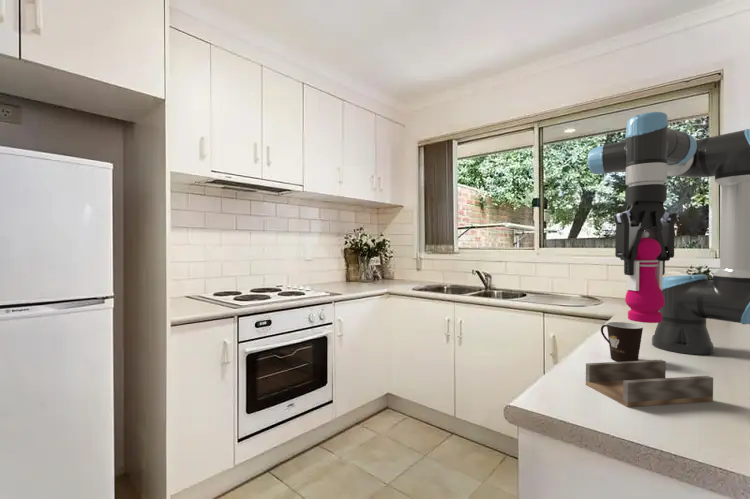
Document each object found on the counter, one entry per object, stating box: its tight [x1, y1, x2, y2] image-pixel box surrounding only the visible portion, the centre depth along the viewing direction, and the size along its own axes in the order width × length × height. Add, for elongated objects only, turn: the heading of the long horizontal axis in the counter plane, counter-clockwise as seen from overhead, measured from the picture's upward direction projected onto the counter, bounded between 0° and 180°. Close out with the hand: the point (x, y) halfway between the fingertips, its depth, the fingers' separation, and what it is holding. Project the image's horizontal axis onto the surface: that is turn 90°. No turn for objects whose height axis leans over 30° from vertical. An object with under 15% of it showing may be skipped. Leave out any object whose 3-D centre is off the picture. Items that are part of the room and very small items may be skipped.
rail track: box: [585, 359, 714, 408], centre depth 85 cm, size 20×12×5 cm, turn 98°
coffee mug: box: [600, 321, 644, 362], centre depth 109 cm, size 12×9×10 cm
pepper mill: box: [624, 230, 665, 324], centre depth 85 cm, size 7×7×20 cm
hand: (644, 289), depth 85 cm, fingers closed on pepper mill, 5 cm apart
